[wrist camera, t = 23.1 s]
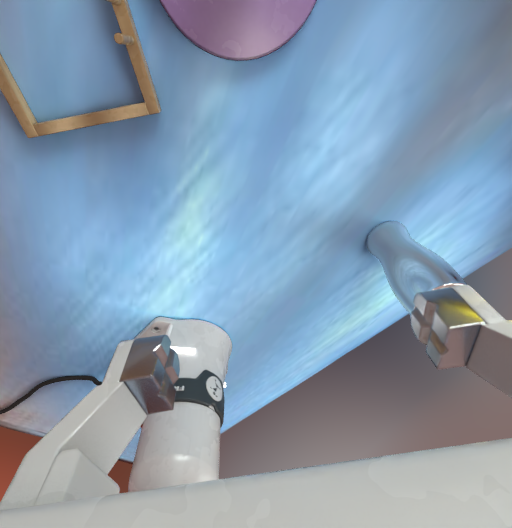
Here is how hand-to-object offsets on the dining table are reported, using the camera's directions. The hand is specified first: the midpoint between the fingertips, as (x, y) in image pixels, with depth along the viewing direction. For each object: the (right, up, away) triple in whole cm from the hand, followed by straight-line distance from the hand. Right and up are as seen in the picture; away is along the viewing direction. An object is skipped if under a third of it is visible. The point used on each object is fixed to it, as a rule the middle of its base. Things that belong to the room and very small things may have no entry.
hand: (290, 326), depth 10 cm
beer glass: (+18, +6, +35) cm, 40 cm away
